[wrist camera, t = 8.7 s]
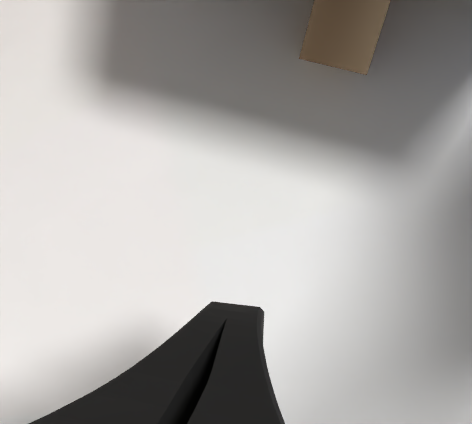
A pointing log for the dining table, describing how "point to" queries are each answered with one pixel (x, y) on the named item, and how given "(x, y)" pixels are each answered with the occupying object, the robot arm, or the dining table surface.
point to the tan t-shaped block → (344, 33)
